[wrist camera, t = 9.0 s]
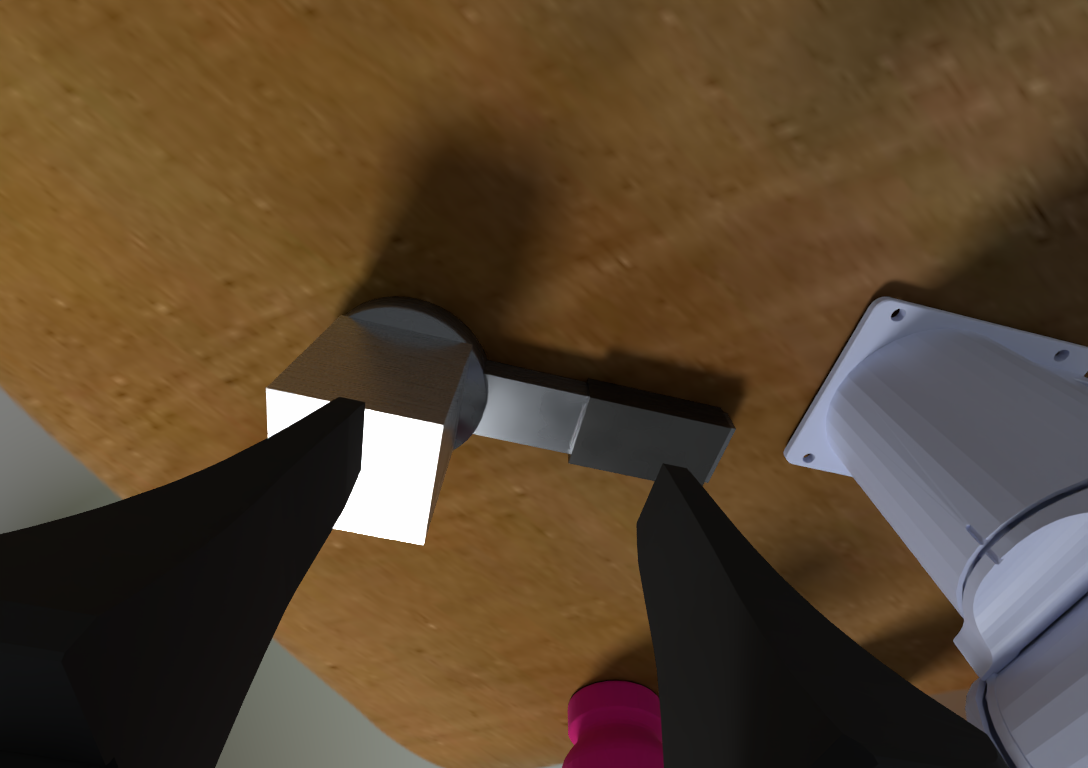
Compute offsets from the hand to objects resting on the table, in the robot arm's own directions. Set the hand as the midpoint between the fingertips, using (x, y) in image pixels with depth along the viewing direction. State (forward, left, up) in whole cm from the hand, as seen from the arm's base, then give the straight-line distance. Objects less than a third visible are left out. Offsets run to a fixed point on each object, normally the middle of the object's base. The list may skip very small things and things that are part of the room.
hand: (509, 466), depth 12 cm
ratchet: (-1, +4, -9) cm, 10 cm away
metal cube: (+5, +4, -8) cm, 10 cm away
